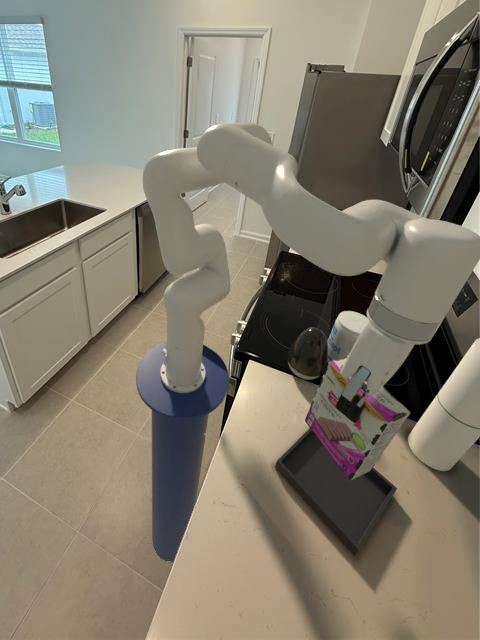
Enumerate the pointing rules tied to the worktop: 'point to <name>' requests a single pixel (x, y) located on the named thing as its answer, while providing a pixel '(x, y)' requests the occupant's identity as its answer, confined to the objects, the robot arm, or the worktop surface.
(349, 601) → the worktop surface
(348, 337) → the supplement tub
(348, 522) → the pan
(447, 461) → the container
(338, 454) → the candy bar box
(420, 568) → the worktop surface
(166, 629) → the worktop surface
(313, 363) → the dark glass dome
